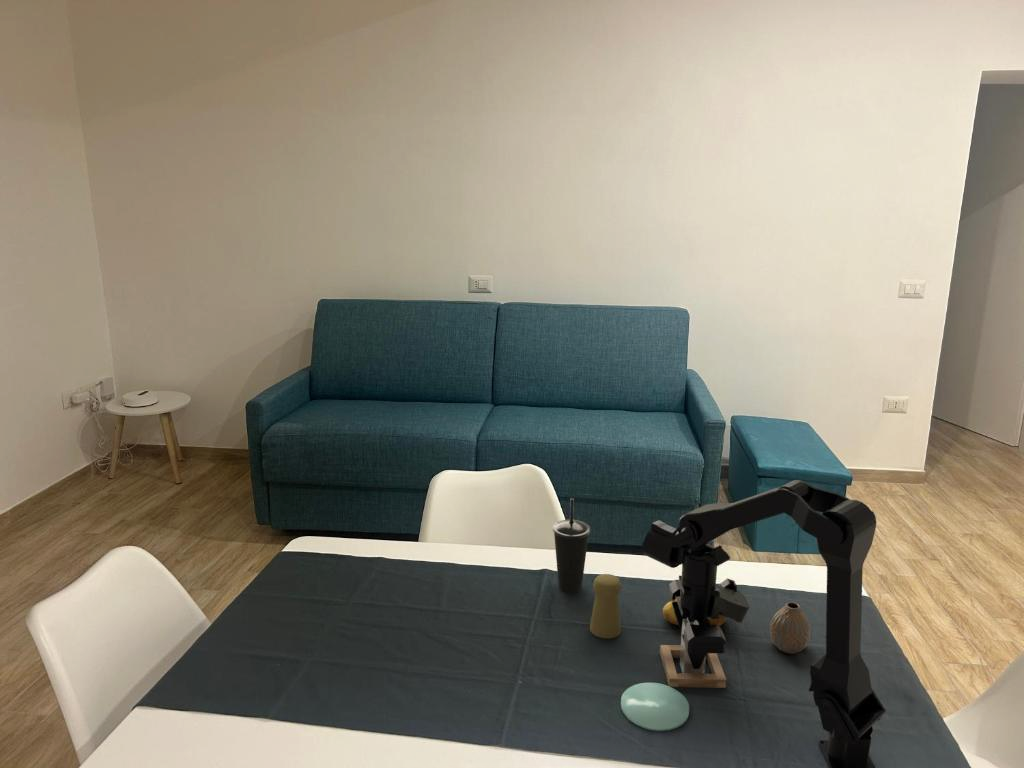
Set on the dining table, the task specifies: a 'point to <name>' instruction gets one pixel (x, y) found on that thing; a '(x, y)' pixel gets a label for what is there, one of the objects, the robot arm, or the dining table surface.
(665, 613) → the bread roll
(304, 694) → the dining table surface
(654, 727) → the teal coaster
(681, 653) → the steel bar
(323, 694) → the dining table surface
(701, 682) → the walnut collar
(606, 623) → the wooden pepper shaker
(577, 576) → the drinking cup
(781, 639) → the vase
